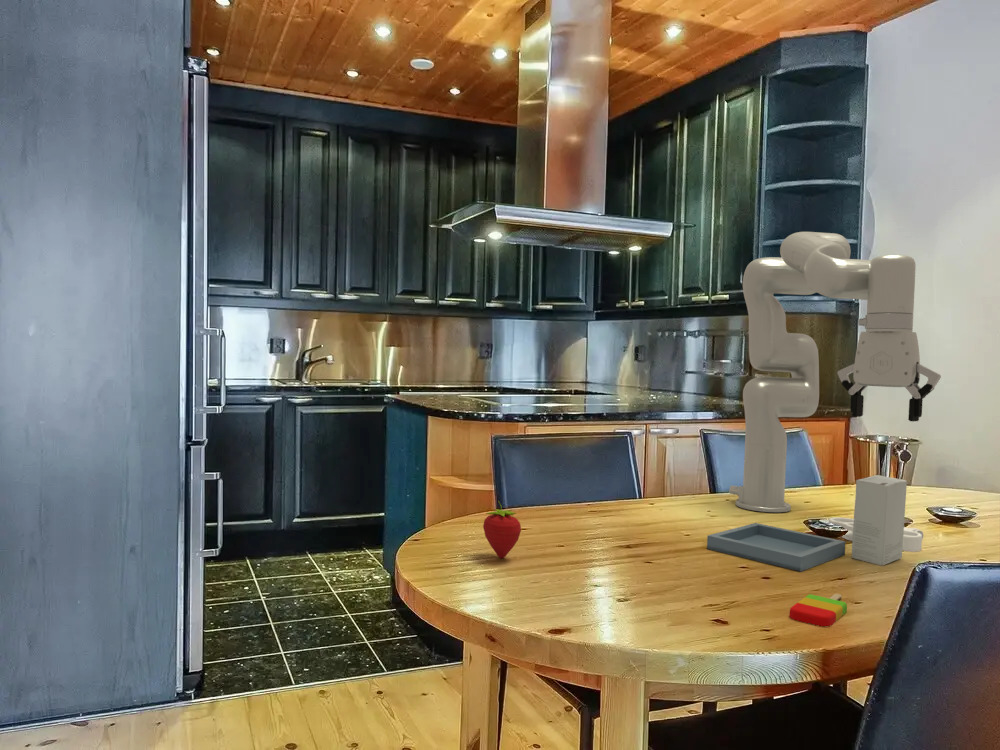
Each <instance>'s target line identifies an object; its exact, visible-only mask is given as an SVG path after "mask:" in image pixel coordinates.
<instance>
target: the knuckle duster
mask: <svg viewBox="0 0 1000 750" xmlns="http://www.w3.org/2000/svg"><path fill="white" fill-rule="evenodd" d="M829 523H832V524H836V525H840V526H843V527H844V528H845V529H847V530H848V532H847V533H846V534H845V535H843V536H842V537H841V538H843V539H845V540H847V541H850V542H852V540H853V525H854V518H849V517H841V516H840V517H839V516H838V517H837V516H836V517H835V516H834V517H830V518H829V519H828V524H829ZM923 539H924V532H923V530H920V529H919V528H917V527H916V528H915V527H911V528H910V527H906V526H904V532H903V548H902V552H912V553H913V552H914V553H917V552H920V551H922V543H923V542H922V541H923Z"/></svg>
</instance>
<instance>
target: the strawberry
mask: <svg viewBox="0 0 1000 750" xmlns="http://www.w3.org/2000/svg"><path fill="white" fill-rule="evenodd" d="M497 501H498V504H499V505H500V509H497V508H496V509H495V511H490V512H486V513H485V514H486V515H487V517H485V518H484V520H483V525H482V528H483V531H484V535H485V538H486V540H487V542H488V543H489V545H490V547H491V548H492V550H493V552H495V554H496V556H497V557H498V558H499V559H504V558H506V557H507V555H508V554H509V553H510V551H511V550H512V549H513V548H514V547H515V545H516V544H517V542H518V541H519V538H520V534H521V532H522V525H521V522H520V521H519V520H518V519H517V518H516V517H514V515H517V512H513V510H512V509H508V510H502V507H503V506H502V505H501V503H500V501H499V500H497Z"/></svg>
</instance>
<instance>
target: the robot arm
mask: <svg viewBox="0 0 1000 750" xmlns="http://www.w3.org/2000/svg"><path fill="white" fill-rule="evenodd" d="M779 249H780V250H779V253H780V257H779V256H777V257H775V256H773V257H771V256H769V257H768V256H766V257H760V258H756V259H754V260H752V261H751V262H749V263H748V264H747V266H746V268H745V270H744V273H743V279H742V291H743V297H744V300H745V304H746V309H747V314H748V356H749V363H750V364H751V366H752V367H753V369H754V370H756V371H757V370H758V371H761V372H780V373H781V372H782V373H790V374H791V377H781V376H759V377H754V378H752V379H750V380H748V381H747V382H746V383H745V385H744V387H743V389H742V401H743V409H744V418H745V421H744V422H745V429H744V430H745V432H744V433H745V437H744V438H745V439H744V458H743V478H742V479H743V481H742V482H743V483H742V485H740V486H739V485H738V486H737V485H732V484H731V485H730V486H729V490H728V493H729V494H731V495H737V496H738V498H737V499H736V500H735V505H736V506H737V507H739V508H741V509H743V510H747V511H753V512H761V513H786V512H787V513H788V512H790V511H791V508H792V506H791V504H790V503H788V502H785V492H786V491H785V490H786V472H787V471H786V469H787V467H786V466H787V451H788V450H787V449H788V437H787V432H786V429H785V428H784V426H783V424H782V423H781V421H780V420H779V418H808V417H810V416H812V415H814V414H815V413H816V411H817V409H818V408H819V402H820V401H819V400H820V363H819V348H818V346H817V344H816V342H815V340H814V338H813V337H811V336H809V335H808V334H806V333H798V332H796V333H795V332H788V331H787V325H786V324H787V323H786V322H787V319H786V318H787V316H786V312H785V310H784V308H783V306H782V304H781V303H780V302H779V300H778V299H777V298H776V297H775V296H774V294H782V295H796V296H797V295H799V296H808V295H810V296H811V295H813V294H816V293H818V294H819V295H821V296H824V297H826V298H831V299H845V300H846V299H847V300H861V301H862V300H863V301H864V300H865V301H866V300H867V301H866V303H867V304H866V314H865V317H863V318H859V319H858V326H863V327H864V329H865V331H861V332H860V335H859V337H858V341H857V347H856V351H855V358H854V363H852V364H850V365H848V366H846V367H844V368H841V369H839V370H838V371H837V372H836V373H837V376H838V378H839V380H840V382H841V385H842V387H843V388H844V389H845V390H846V391H847V392H848V395H850V412H851V414H852V415H851V416H852V417H853V418H858V417H862V416H863V415H864V395H863V394H862V392H864V391H865V390H866V388H867V387H881V388H882V387H885V388H905V389H906V391H908V392H909V394H910V395H911V398H909V401H908V402H909V403H908V419H907V420H908V421H909V422H919V420H920V418H921V417H922V416H923V399H925V398H926V396H928V395H929V394H930V393H932V391H934V390H935V387H936V386H937V385H938V383H939V381H940V380H941V379H942V376H941V374H939V373H938V372H936V371H933V370H932V369H930V368H928V367H926V366H924V365H922V364H921V361H920V360H921V359H920V348H919V347H920V346H919V340H918V336H917V335H918V334H917V332H915V331H913V326H914V307H915V306H914V305H915V285H916V265H917V264H916V261H915V259H914V258H913V257H911V256H909V255H905V254H904V255H901V254H887V255H880V256H876V257H873V258H872V259H871V260H869V259H857V258H851V252H852V251H851V245H850V243H849V241H848V239H847V238H846V237H845V236H843V235H841V234H839V233H835V232H832V233H831V232H819V231H818V232H817V231H816V232H815V231H799V232H798V231H797V232H794V233H791V234H789V235H788V236H787V237H785V239H784V240H783V241H782V242H781V244H780V247H779ZM851 374H853V375H852V376H853V382H854V383H853V382H852V381H851V380H850V377H849V376H850V375H851ZM921 375H922V376H925V377H926V378H927V381H926V383H925V384H923V386H921V387H920V386H919V384H920V377H921Z"/></svg>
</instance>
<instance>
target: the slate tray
mask: <svg viewBox="0 0 1000 750" xmlns="http://www.w3.org/2000/svg"><path fill="white" fill-rule="evenodd" d="M706 541H707V542H706V549H707V550H711V551H715V552H719V553H723V554H727V555H731V556H735V557H739V558H743V559H748V560H752V561H755V562H759V563H763V564H767V565H771V566H777V567H780V568H784V569H789V570H791V571H797V572H803V571H806V570H809V569H811V568H814V567H816V566H819V565H821V564H824V563H827V562H829V561H832V560H834V559H837V558H840V557H843V556H846V541H844V540H840V539H835V538H830V537H827V536H826V537H825V536H820V535H816V534H811V533H806V532H802V531H801V532H800V531H796V530H791V529H786V528H782V527H777V526H772V525H767V524H762V523H757V522H754V523H749V524H745V525H742V526H739V527H735V528H730V529H728V530H723V531H720V532H716V533H711V534H709V535H707V538H706Z"/></svg>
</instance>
